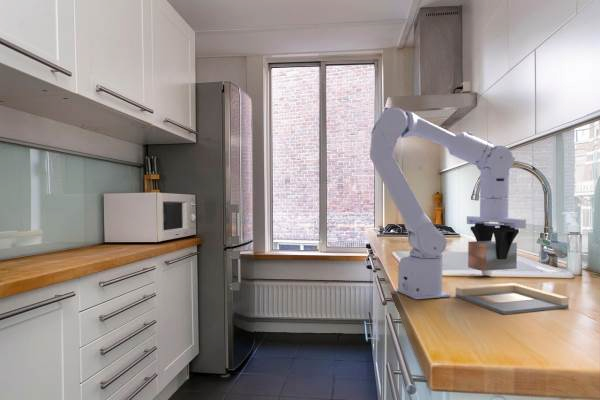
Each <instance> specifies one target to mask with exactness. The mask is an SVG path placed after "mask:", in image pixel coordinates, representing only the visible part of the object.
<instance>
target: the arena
mask: <svg viewBox="0 0 600 400" xmlns="http://www.w3.org/2000/svg"><path fill="white" fill-rule="evenodd" d="M455 297H456V298H459V299H461V300H465V301H467V302H470V303H473V304H475V305H478V306H481V307H484V308H486V309H489V310H491V311H494V312H496V313H499V314H502V315H511V314H512V315H513V314H521V313H531V312H539V311H549V310H558V309H559V310H560V309H566V308H567V309H569V306H570V305H569V304H570V303H569V299H570V298H569V297H568V296H565V295H561V294H557V293H555V292H554V293H553V292H551V291H550V292H549V291H546V290H542V289H537V288H533V287H530V286H527V285H522V284H519V283H516V282H515V283H514V282H508V283H507V282H506V283H494V284H481V285H469V286H468V285H465V286H464V285H463V286H456V287H455Z"/></svg>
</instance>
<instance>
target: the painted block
mask: <svg viewBox="0 0 600 400" xmlns="http://www.w3.org/2000/svg"><path fill="white" fill-rule="evenodd" d="M517 244H518V242H516V241H513V242H512V244H511V246H510V249H509V252H508V256H507V259H501V260H500V259H497V255H496V241H495V240H493V241H477V240H475V241H474V240H473V241H472V240H471V241H467V247H468V248H467V267H468V268H469V269H474V270H476V271H481V272H482V271H487V270H492V271H498V270H500V271H501V270H514V269H517V268H518V267H517V264H518V263H517V262H518V261H517V252H518V251H517V250H518V245H517Z"/></svg>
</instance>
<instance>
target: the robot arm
mask: <svg viewBox="0 0 600 400" xmlns="http://www.w3.org/2000/svg"><path fill="white" fill-rule="evenodd" d="M370 132H371V133H370V134H371V135H370V136H371V138H370V139H371V140H370V147H369V158H370V160H371V162H372V164H373V166H374V168H375V170H376V171H377V174H378V176H379V177H380V178H381V181H382V184H384V186H385V188H386V190H387V192H388V194H389V196H390V197H391V199H392V202H393V204H394V205H395V207H396V209H397V211H398V212H399V214H400V217H401V218H402V220H403V222H404V228H405V230H406V232H407V237H408V238H407V241H408V244H409V246H410V247H411V250H410V251H409V255H408V256H403V257H402V258H401V259H400V260H399V262H398V267H397V268H398V271H397V272H398V274H397V277H398V278H397V283H398V284H397V288H396V292H399V293H401V294H403V295H405V296H408V297H410V298H412V299H414V300H423V299H424V300H425V299H434V298H446V297H447V298H449V297H451V295H452V294H451V293H448V292H445V291H443V252H444V251H445V250H446V247H447V239H446V237H445V235H444V233H443V232H441V231H440V230H439V229H437V227H435V225H434V224H433V222H432V221H431V219H430V218H429V217H428V216H427V215H426V213H425V212H424V210H423V208H422V206H421V205H420V202H419V201H418V199H417V197H416V195H415V193H414V192H413V189H412V188H411V185H410V184H409V183H408V180H407V178H406V176H405V175H404V173H403V171H402V169H401V168H400V167H401V166H399V163H398V162H397V160H396V158H395V156H394V154H393V153H394V151H395V147H396V145H397V142H398V140H399V138H400V137H401V139H402V138H408V137H413V136H416V137H418V138H422V139H424V140H427V141H430V142H433V143H435V144H437V145H440V146H443V147H445V148H447V150H448V153H449V154H450V155H451V156H453V157H455V158H458V159H460V160H462V161H464V162H467V163H469V164H471V165H474V166H476V168H477V169H478V170H479V171H480V178H479V179H480V186H479V187H480V188H479V191H480V192H479V193H480V194H479V195H480V196H479V201H480V202H479V216H475V215H474V216H473V215H472V216H470V215H469V216H468V215H467V216H466V224H467V225H474V226H470V231H471V232H472V234H473V235H474V238H475V241H492V240H493V235H494V241H496V255H497V259H500V260H501V259H507V256H508V252H509V249H510V246H511V244H512V242H514V240H515V238H516V237H517V236H518V234H519V233H520V229H523V230H524V229H527V220H526V219H524V218H522V219H521V218H513V217H509V189H510V188H509V186H510V185H509V184H510V183H509V182H510V181H509V178H510V169H511V167H513V165H514V164H515V160H516V158H515V157H513V153H512V151H510V149H509V148H508V147H506V146H504V145H495V146H494V145H493V144H494V143H493V141H490V140H488V141H485V140H482V139H481V138H479V137H476V136H474V132H471V131H468V132H467V131H466V132H464V131H462V132H458V133H456V134H455V133H454V132H451V131H449V130H446V129H445V128H443V127H441V126H439V125H436V124H434V123H432V122H430V121H428V120H427V119H424V118H422V117H420V116H418V115H417V114H415V113H414V112H412V111H410V110H409V111H408V110H403V109H402V108H400V107H398V106H391V107H388V108H386V109H385V110H384V111H383V112H382V113H381V114H380V116H379V118H378V119H377V121H375V124H374V126H373V128H372V130H371V131H370Z"/></svg>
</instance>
